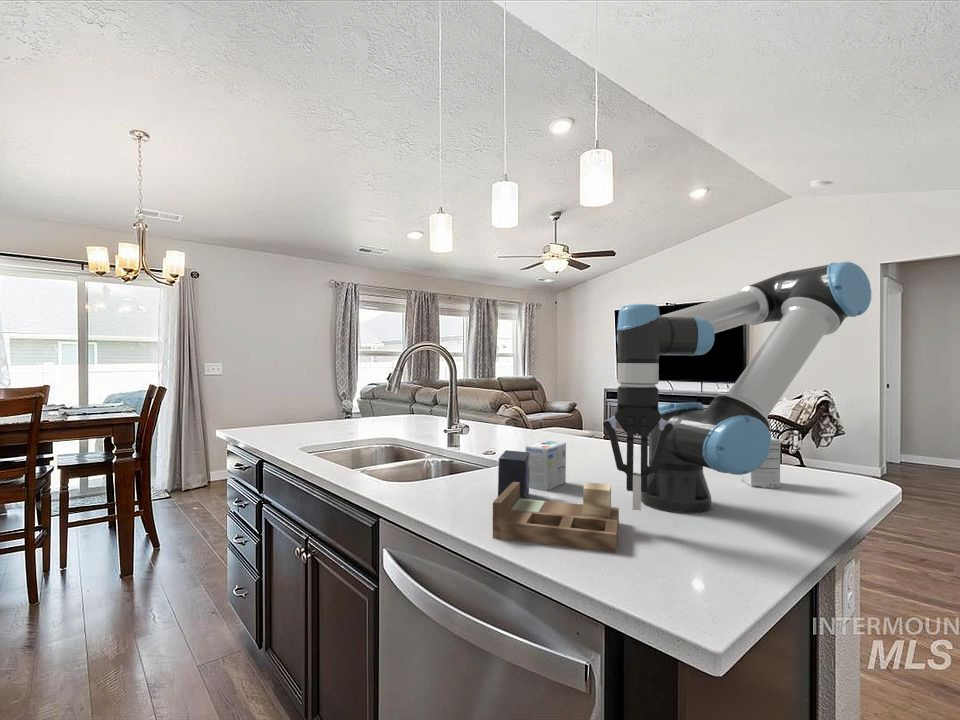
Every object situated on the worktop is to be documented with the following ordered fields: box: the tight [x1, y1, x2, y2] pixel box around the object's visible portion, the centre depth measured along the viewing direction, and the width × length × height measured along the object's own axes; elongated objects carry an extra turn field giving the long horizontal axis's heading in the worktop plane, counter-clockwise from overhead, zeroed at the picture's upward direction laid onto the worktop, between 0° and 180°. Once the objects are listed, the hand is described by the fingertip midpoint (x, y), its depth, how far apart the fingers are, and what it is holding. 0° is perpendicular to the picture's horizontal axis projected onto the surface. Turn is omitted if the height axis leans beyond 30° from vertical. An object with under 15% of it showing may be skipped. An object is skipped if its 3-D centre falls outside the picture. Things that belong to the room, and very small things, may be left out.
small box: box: [497, 450, 530, 499], centre depth 116 cm, size 11×6×10 cm, turn 168°
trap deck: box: [492, 482, 620, 553], centre depth 95 cm, size 22×16×6 cm
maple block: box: [582, 481, 612, 517], centre depth 97 cm, size 5×5×5 cm
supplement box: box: [739, 436, 781, 488], centre depth 131 cm, size 7×7×13 cm
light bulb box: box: [525, 440, 567, 492], centre depth 129 cm, size 11×7×11 cm, turn 144°
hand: (636, 508), depth 95 cm, fingers closed
